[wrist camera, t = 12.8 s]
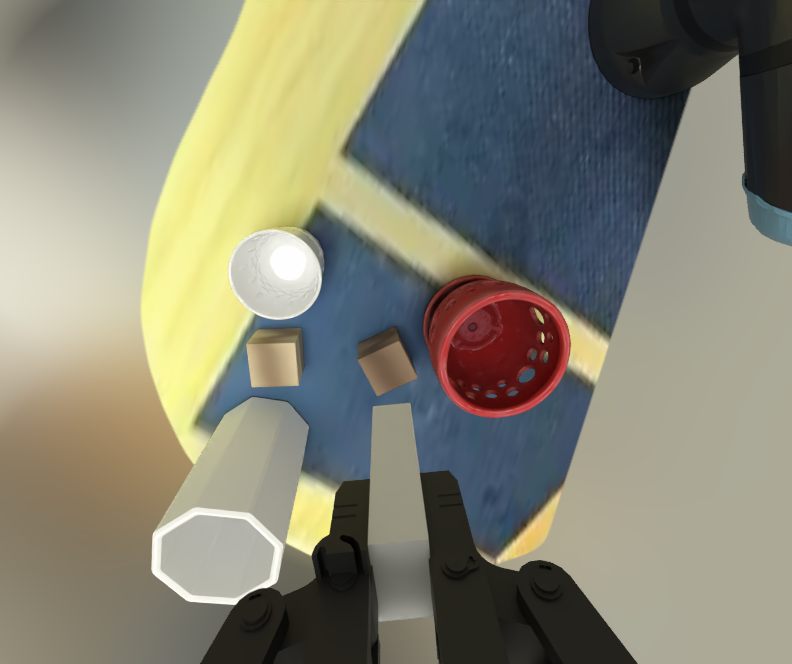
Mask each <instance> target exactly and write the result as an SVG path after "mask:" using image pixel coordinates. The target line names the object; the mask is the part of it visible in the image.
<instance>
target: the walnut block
mask: <svg viewBox="0 0 792 664" xmlns="http://www.w3.org/2000/svg"><path fill="white" fill-rule="evenodd" d="M358 362H359V363H360V365H361V367H362V369H363V371H364V373H365V374H366V376H367V378H368V380H369V382H370V384H371V385H372V387H373V389H374V391H375V393H376V395H377V396H379V395H382V394H384V393H386V392H388V391H390V390H393V389H395V388H397V387H399V386H401V385H404V384H406V383H408V382H410V381H412V380H415V379H417V378H418V377H417V374H416V371H415V368H414V365H413V361H412V359H411V357H410V355H409V353H408V351H407V349H406V347H405V345H404V343H403V341H402V339H401V337H400V335H399V332H398V330H397V328H396V326H395V327H393V328H391V329H388V330H386V331H384V332H382V333H380V334H378V335H375V336H373V337H371V338H369V339H367V340H365V341H363V342H360V343H358Z"/></svg>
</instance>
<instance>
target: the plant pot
mask: <svg viewBox="0 0 792 664" xmlns="http://www.w3.org/2000/svg"><path fill="white" fill-rule="evenodd" d="M534 308H536V309H537V310H538V311H539V312H540V313H541V315H542V316H543V319H544V324H543V323H542V322H541V321H540V320H539V319H538V317H537V316H536V313H535V310H534ZM542 332H543V334H544V337H545V339H544V343H543V342H542V340H541V333H542ZM423 334H424V339H425V342H426V344H427V347H428V349H429V353H430V358H431V362H432V365H433V368H434V371H435V373H436V376H437V378H438V380H439V382H440V384H441V386H442V388H443V389H444V391H445V393H446V394H447V396H448V397H449V398H450V399H451V400H452V401H453V402H454V403H455V404H456V405H457V406H459V407H460V408H462V409H463V410H465V411H467V412H469V413H472V414H474V415H478V416H483V417H492V418H496V417H507V416H512V415H515V414H519V413H522V412H524V411H527V410H529V409H531V408H532V407H534V406H536V405H537V404H539V403H540V402H541V401H542V400H544V399H545V398H546V397H547V396H548V395H549V394H550V393H551V392H552V391H553V390H554V389H555V387H556V386H557V385H558V383H559V382H560V380H561V378H562V377H563V375H564V372H565V370H566V367H567V364H568V360H569V356H570V348H571V341H570V334H569V329H568V326H567V324H566V321H565V319H564V317H563V316H562V314H561V312H560V311H559V310H558V309H557V307H556V306H555V305H554V304H552V303H551V302H550V301H549V300H547V299H546V298H544V297H542V296H541V295H539V294H537V293H535V292H533V291H532V290H529V289H527V288H525V287H522V286H519V285H517V284H514V283H510V282H505V281H498V280H496V279H493V278H490V277H487V276H481V275H472V276H465V277H461V278H458V279H456V280H454V281H452V282H450V283H448V284H447V285H445V286H444V287H443V288H441V289H440V290H439V291H438V292H437V293H436V294H435V296H434V297H433V298H432V300H431V301H430V303H429V305H428V307H427V309H426V312H425V315H424V320H423ZM552 337H553V339H552ZM534 349H536V351H537V356H536V358H535V359H534V360H533V361H532V360H531V353H532V351H533V350H534ZM546 352H548V360H547V362H546V363H545V362H544V359H543V357H544V354H545V353H546ZM531 368H533V369H535V375H534V377H533V378H532V379H531V380H530V381H528V382H525V383H520V382H519V377H520V375H521V374H522V373H523V372H524V371H526V370H527V369H531ZM459 384H460V385H459ZM501 384H506V386H504V387H498V386H499V385H501ZM461 385H462V386H461ZM473 388H477V389H479V390H480V391H477V390H474V389H473ZM512 391H519V392H518V393H517V394H516V395H514V396H508V394H509V393H510V392H512ZM488 394H494V395H497V397H495V398H489V397H487V396H486V395H488ZM468 396H469V397H472V398H469V397H468ZM473 398H474V399H473Z"/></svg>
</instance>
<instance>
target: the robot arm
mask: <svg viewBox="0 0 792 664" xmlns="http://www.w3.org/2000/svg"><path fill="white" fill-rule="evenodd" d="M589 33H590V41H591V46H592V50H593V54H594V57H595V59H596V62H597V64H598V66H599V68H600V70H601V71H602V73H603V74H604V76H605V77H606V78H607V79H608V81H609V82H610V83H611V84H612V85H614V86H615V87H616V88H617V89H619V90H620V91H622V92H624V93H626V94H628V95H630V96H633V97H637V98H644V99H654V98H661V97H665V96H668V95H672V94H675V93H678V92H681V91H684V90H687V89H689V88H691V87H693V86H695V85H697V84H699V83H701V82H702V81H704V80H705V79H707V78H708V77H710V76H711V75H712V74H713V73H715V72H716V71H717V70H719V69H720V68H721V67H722V66H724V65H725V64H726V63H728V62H729V61H730V60H731V59H733V58H734V57H735V56H736V55H738V54H739V67H740V92H741V109H742V127H743V145H744V163H745V172H744V174H743V176H742V186H743V189H744V190H745V193H746V194H747V202H748V211H749V217H750V220H751V222H752V224H753V225H754V226H755V227H756V229H757V230H759V232H760V233H761V234H763V235H764V236H766V237H768V238H770V239H772V240H774V241H777V242H780V243H783V244H786V245H790V246H792V0H591V5H590V14H589ZM312 560H313V564H314V569H315V574H316V578H315V579H314V580H313V581H312V582H310V583H309V584H308V585H306V586H304V587H302V588H300V589H298V590H296V591H293V592H291V593H289V594H286V595H284V596H282V595H281V594H280V592H279V591H277V590H275V589H272V588H260V589H257V590H255V591H252V592H250V593H248V594H247V595H246V596H244V597H243V598H242V599H240V600H239V601H238V603H237V604H236V605H235V606H234V608H233V609H232V610H231V612H230V614H229V615H228V617H227V619H226V620H225V622H224V624H223V626H222V627H221V629H220V631H219V632H218V634H217V636H216V638H215V640H214V641H213V643H212V644H211V646H210V648H209V650H208V651H207V653H206V655H205V657H204V658H203V660H202V662H201V663H200V664H380V642H379V635H378V618H379V622H380V621H390V620H400V619H410V618H421V617H432V616H434V622H435V633H436V645H437V657H438V660H439V664H637V662H636V661H635V660H634V658H633V657H632V656H631V655H630V653H629V652H628V651H627V650H626V648H625V647H624V645H623V644H622V643H621V641H620V640H619V639H618V638H617V636H616V635H615V634H614V632H613V631H612V630H611V628H610V627H609V626H608V625H607V623H606V622H605V621H604V619H603V618H602V617H601V615H600V614H599V613H598V612H597V610H596V609H595V608H594V606H593V605H592V604H591V602H590V601H589V600H588V599H587V597H586V596H585V595H584V593H583V592H582V591H581V590H580V588H579V587H578V586H577V584H576V583H575V582H574V580H573V579H572V578H571V576H570V575H568V574H567V573H566V572H565V571H564V570H563V569H562V568H561V567H559V566H557V565H555V564H553V563H551V562H547V561H542V560H537V561H530V562H528V563H526V564H525V565H523V566H522V567H521V569H520V571H514V570H510V569H504V568H501V567H498V566H495V565H493V564H491V563H489V562H488V561H486V560H485V559H484V558H483V557H482V556H481V555H480V554H479V553H478V551H477V550H476V547H475V545H474V542H473V538H472V534H471V531H470V527H469V523H468V519H467V515H466V511H465V508H464V504H463V500H462V496H461V492H460V488H459V485H458V481H457V480H456V478H455V477H454V476H453V475H452V474H451V473H450V472H449V471H438V472H428V473H420V472H419V464H418V457H417V449H416V442H415V435H414V427H413V420H412V412H411V405H410V403H404V404H394V405H383V406H373V418H372V444H371V471H370V479H365V480H355V481H344V482H343V483H342V485H341V486H340V488H339V489H338V491H337V492H336V494H335V501H334V509H333V514H332V521H331V528H330V534H329V535H328V536H326V537H324V538H323V539H322V540H321V541H320V542H319V543H318V544H317V545H316V546H315V548H314V551H313V553H312Z"/></svg>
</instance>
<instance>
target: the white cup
mask: <svg viewBox="0 0 792 664" xmlns="http://www.w3.org/2000/svg"><path fill="white" fill-rule="evenodd" d="M323 274H324V253H323V250H322V248H321V246H320V243H319V241H318V240H317V239H316V238H315V237H314V236H313V235H311V234H310V233H309V232H308V231H306V230H303V229H300V228H297V227H294V226H292V227H276V228H271V229H266V230H261V231H257V232H255V233H252V234H250V235H248V236H247V237H245V238H244V239H243V240H242V241H241V242H240V243H239V244H238V245H237V246H236V247H235V249H234V251H233V253H232V255H231V257H230V261H229V267H228V275H229V281H230V285H231V287H232V290H233V292H234V294H235V295H236V297H237V298H238V300H239V301H240V302H241V303H242V304H243V305H244V306H245V307H246V308H247V309H249V310H250V311H252V312H253V313H255V314H257V315H259V316H262V317H265V318H269V319H276V320H281V319H289V318H293V317H295V316H298V315H300V314H302V313H303V312H305V311H306V310H307V309H308V308H310V307H311V305H312V304H313V303H314V302H315V300H316V298H317V297H318V294H319V292H320V289H321V284H322V279H323Z"/></svg>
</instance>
